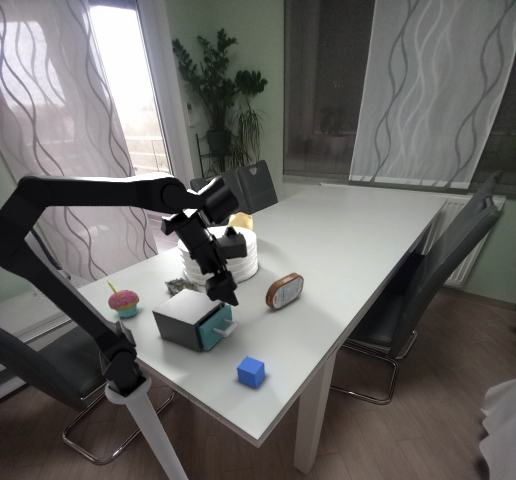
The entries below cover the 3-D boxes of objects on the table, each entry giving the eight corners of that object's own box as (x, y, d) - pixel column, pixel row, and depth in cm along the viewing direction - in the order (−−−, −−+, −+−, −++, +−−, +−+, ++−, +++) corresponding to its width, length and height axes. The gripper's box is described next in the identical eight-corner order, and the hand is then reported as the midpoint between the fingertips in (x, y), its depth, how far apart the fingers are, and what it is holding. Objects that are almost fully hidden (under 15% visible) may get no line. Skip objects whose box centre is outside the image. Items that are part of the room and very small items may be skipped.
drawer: (246, 330, 73) (244, 309, 68) (222, 356, 65) (218, 334, 61) (198, 315, 80) (193, 294, 75) (170, 336, 72) (163, 315, 68)
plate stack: (218, 294, 90) (212, 261, 83) (170, 271, 105) (162, 242, 98) (272, 265, 105) (272, 235, 98) (224, 249, 120) (220, 222, 113)
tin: (297, 292, 89) (298, 267, 83) (304, 295, 87) (306, 270, 82) (264, 311, 81) (263, 285, 76) (272, 315, 79) (272, 289, 74)
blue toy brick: (256, 388, 58) (254, 374, 56) (238, 381, 60) (236, 367, 57) (265, 376, 61) (264, 362, 58) (247, 369, 63) (246, 355, 60)
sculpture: (255, 233, 135) (254, 209, 128) (250, 241, 126) (248, 217, 119) (233, 232, 137) (230, 209, 130) (226, 241, 128) (223, 217, 121)
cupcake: (125, 324, 79) (109, 287, 72) (108, 316, 83) (90, 280, 75) (149, 310, 85) (136, 274, 77) (131, 303, 88) (117, 268, 81)
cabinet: (228, 325, 76) (224, 299, 71) (200, 352, 68) (193, 324, 63) (191, 313, 82) (185, 288, 76) (161, 337, 74) (151, 310, 68)
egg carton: (201, 294, 91) (199, 283, 88) (181, 302, 87) (178, 291, 85) (185, 283, 97) (182, 273, 94) (165, 291, 93) (162, 280, 91)
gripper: (242, 241, 47) (273, 301, 59) (225, 202, 60) (254, 258, 71) (187, 271, 49) (228, 324, 60) (182, 227, 61) (217, 278, 73)
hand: (233, 293), depth 66 cm, fingers open, 9 cm apart
